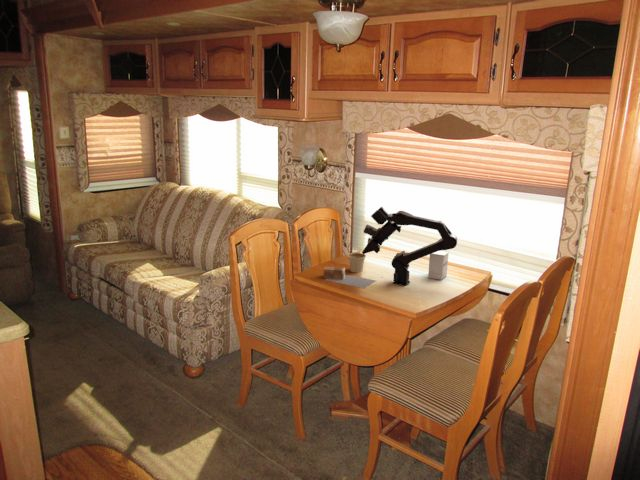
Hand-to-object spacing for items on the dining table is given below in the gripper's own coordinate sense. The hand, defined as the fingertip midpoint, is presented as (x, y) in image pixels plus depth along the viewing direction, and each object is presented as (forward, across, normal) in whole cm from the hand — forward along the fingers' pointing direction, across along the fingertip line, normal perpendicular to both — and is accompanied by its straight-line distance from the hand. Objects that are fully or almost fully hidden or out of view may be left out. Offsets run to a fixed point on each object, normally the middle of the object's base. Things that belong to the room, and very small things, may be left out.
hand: (362, 253), depth 250 cm
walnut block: (+14, 0, +1) cm, 14 cm away
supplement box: (-15, -11, +37) cm, 41 cm away
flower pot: (+13, -12, +7) cm, 19 cm away
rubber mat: (+14, +3, +5) cm, 15 cm away
